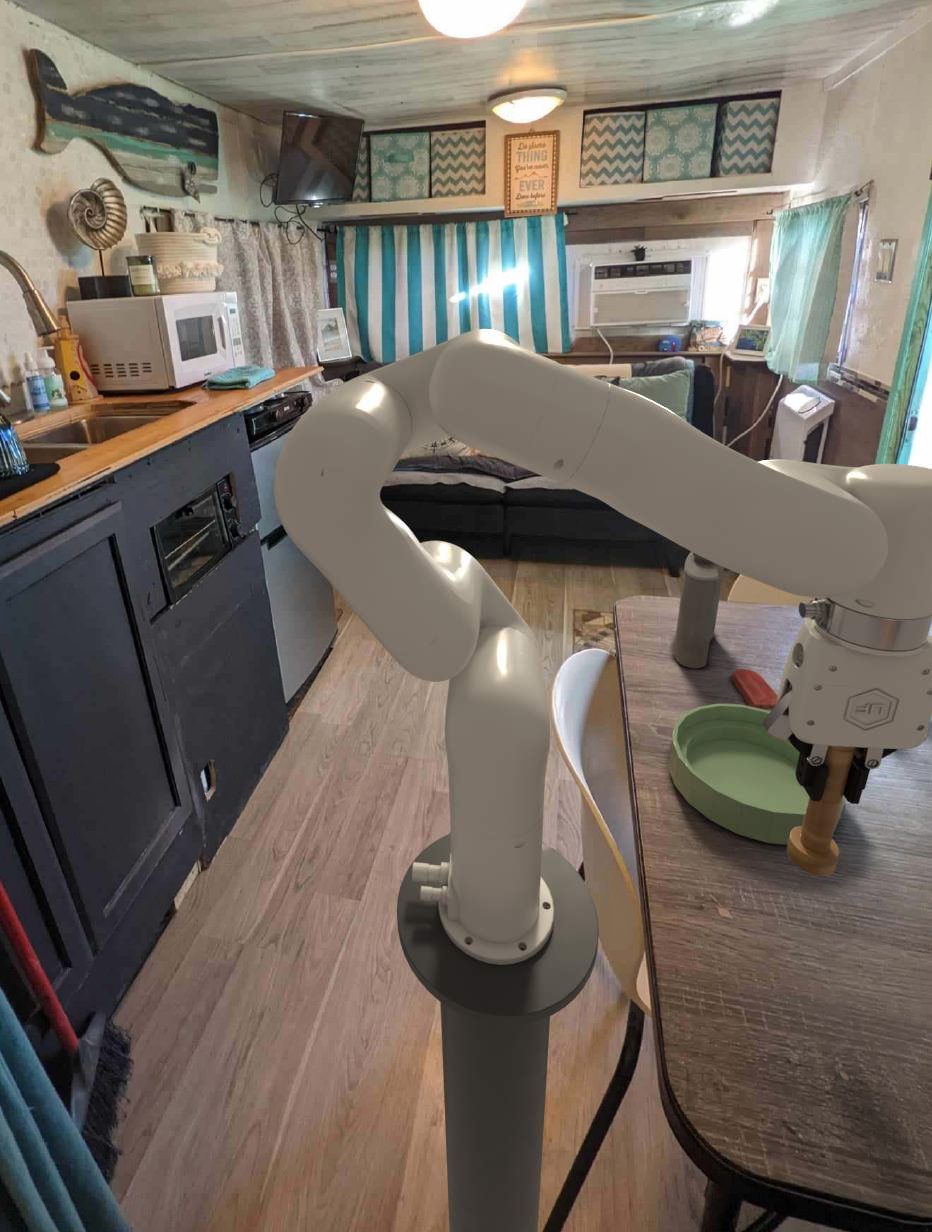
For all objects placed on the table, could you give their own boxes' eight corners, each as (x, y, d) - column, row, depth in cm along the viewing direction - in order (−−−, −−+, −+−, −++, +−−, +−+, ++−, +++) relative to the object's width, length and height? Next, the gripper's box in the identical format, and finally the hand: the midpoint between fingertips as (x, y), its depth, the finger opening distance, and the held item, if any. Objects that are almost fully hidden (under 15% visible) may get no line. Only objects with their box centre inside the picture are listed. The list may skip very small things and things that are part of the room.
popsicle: (771, 725, 93) (728, 667, 107) (769, 734, 93) (727, 676, 107) (803, 725, 92) (756, 667, 106) (801, 735, 93) (754, 676, 107)
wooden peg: (797, 874, 59) (825, 757, 54) (779, 839, 63) (804, 726, 58) (843, 878, 59) (876, 759, 53) (823, 842, 62) (852, 728, 57)
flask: (682, 624, 123) (694, 530, 116) (715, 631, 120) (729, 535, 113) (668, 663, 111) (680, 561, 104) (704, 672, 108) (719, 567, 101)
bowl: (691, 840, 77) (697, 806, 75) (653, 730, 95) (657, 700, 93) (873, 855, 74) (883, 820, 72) (797, 738, 92) (804, 707, 90)
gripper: (782, 638, 49) (748, 817, 55) (1017, 644, 46) (952, 831, 53) (747, 593, 56) (720, 756, 62) (950, 596, 53) (899, 766, 60)
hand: (827, 789), depth 58 cm, fingers closed on wooden peg, 2 cm apart
